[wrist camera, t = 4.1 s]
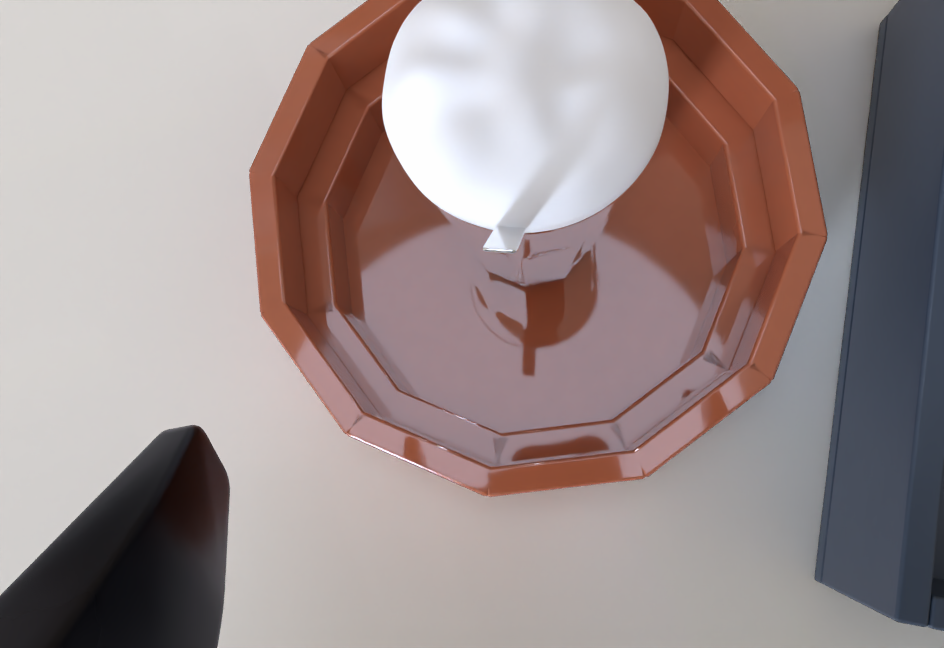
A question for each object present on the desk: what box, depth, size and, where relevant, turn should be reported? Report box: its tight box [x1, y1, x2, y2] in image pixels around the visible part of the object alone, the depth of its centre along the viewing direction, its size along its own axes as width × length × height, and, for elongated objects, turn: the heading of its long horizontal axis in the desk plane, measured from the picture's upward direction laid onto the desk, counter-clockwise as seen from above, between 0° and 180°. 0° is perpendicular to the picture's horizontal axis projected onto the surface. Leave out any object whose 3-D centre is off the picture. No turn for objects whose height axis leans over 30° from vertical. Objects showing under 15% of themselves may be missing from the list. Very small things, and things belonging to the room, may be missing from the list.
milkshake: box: [382, 0, 669, 287], centre depth 16 cm, size 4×5×10 cm
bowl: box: [249, 0, 827, 497], centre depth 19 cm, size 12×12×4 cm
